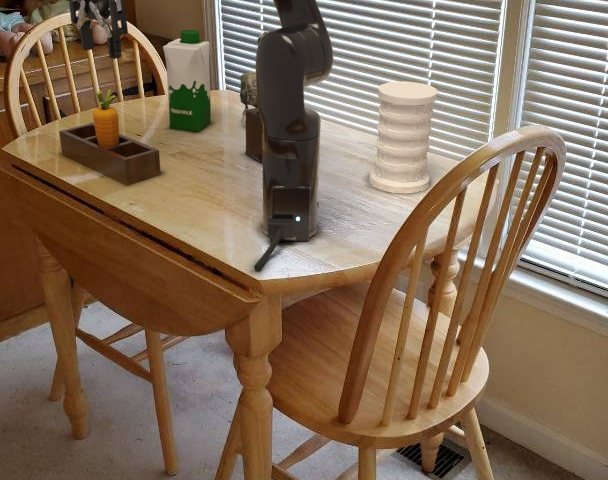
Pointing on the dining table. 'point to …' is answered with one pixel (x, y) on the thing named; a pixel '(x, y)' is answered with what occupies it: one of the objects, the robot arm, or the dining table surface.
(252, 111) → the manual coffee grinder
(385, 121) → the decorative container
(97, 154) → the rack
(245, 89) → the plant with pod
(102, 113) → the carrot
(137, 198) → the dining table surface
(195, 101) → the milk carton
